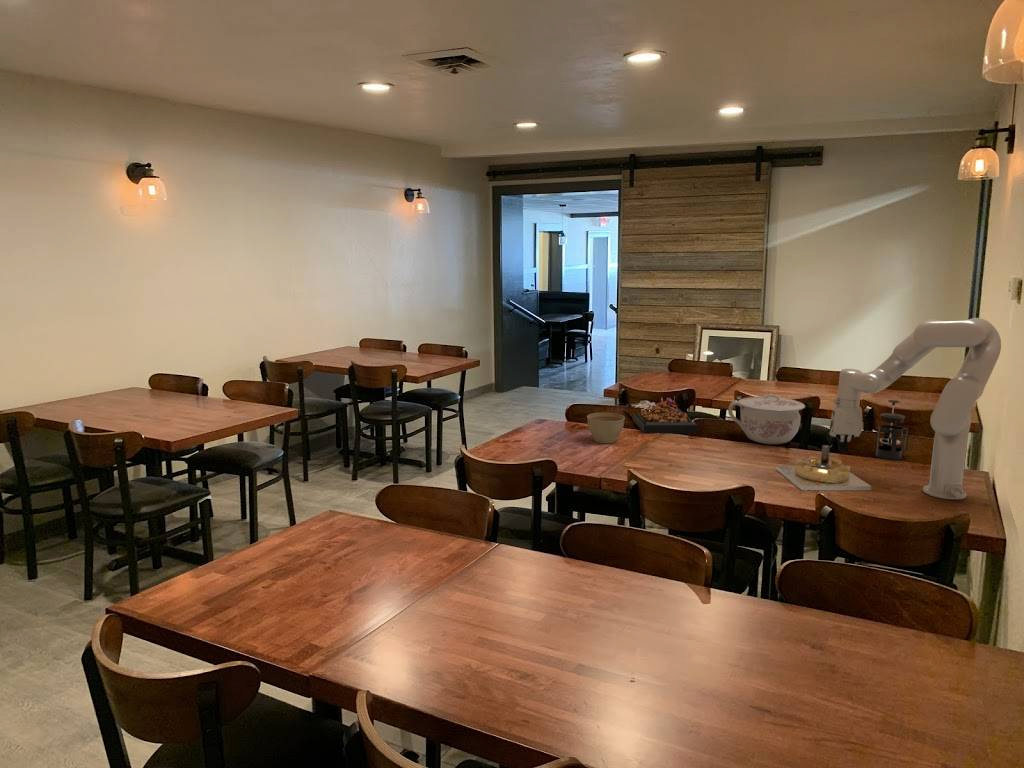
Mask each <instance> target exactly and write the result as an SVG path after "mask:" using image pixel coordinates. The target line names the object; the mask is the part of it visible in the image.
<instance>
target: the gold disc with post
mask: <svg viewBox="0 0 1024 768" xmlns="http://www.w3.org/2000/svg"><path fill="white" fill-rule="evenodd" d="M830 449H831V446H830V445H826V444H823V445H821V455H820V456H821V457H820V459H819V457H817V456H813V455H812V456H808V459H798V458H797V459H795V465H794V466H795V473H796V474H797V475H798V476H800V477H802V478H805V479H808V480H812V481H818V482H827V483H837V482H844V481H847V480H848V479H849V474H850V473H851V472H850V471H851V465H845V464H844V463H843V464H842V460H841V459H837V458H834V459H831V460H830V451H831V450H830Z"/></svg>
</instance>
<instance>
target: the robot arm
mask: <svg viewBox="0 0 1024 768" xmlns="http://www.w3.org/2000/svg"><path fill="white" fill-rule="evenodd" d="M937 348H969V349H968V352H967V354H966V356H965V358H964V360H963V362H962V364H961V366H960V368H959V370H958V372H957V373H956V375H955V376H954V377H953V378H951V379H950V380H949V381H948V382H947V383H946V384H945V386H944V388H943V390H942V392H941V394H940V396H939V399H938V401H937V402H936V404H935V407H934V408H933V411H932V413H931V415H930V426H931V428H932V429H933V431H934V438H933V446H932V453H931V454H932V455H931V462H930V464H931V465H930V473H929V482H928V485H924V486H923V487H922V492H924V493H925V494H926V495H928V496H931V497H933V498H939V499H943V500H953V501H955V500H959V501H960V500H963V499H966V498H967V492H966V491H964V490H963V487H964V485H963V479H964V470H965V462H966V453H967V447H968V440H969V434H970V430H971V423H972V414H971V412H972V410H973V407H974V406H975V403H976V402H977V400H979V399H980V398H981V396H982V395H983V393H984V390H985V388H986V385H987V384H988V382H989V379H990V377H991V375H992V372H993V370H994V369H995V366H996V365H997V362H998V360H999V357H1000V354H1001V352H1002V351H1001V349H1002V339H1001V337H1000V334H999V332H998V330H997V329H996V327H995V326H994V325H993V324H992V323H991V322H990V321H988V320H986V319H984V318H980V317H973V318H969V319H966V320H949V321H946V320H945V321H943V320H941V319H938V318H937V319H936V318H935V319H934V318H932V319H928V320H925V321H922V322H920V323H919V324H918V325H917V326H916V327H915V328H914V331H912V333H910V334H909V335H908V336H907V337H905V338H904V339H903V340H902V341H901V342H900V343H898V344H897V345H896V346H895V347H894V349H893V351H892V353H891V354H890V356H888V357H887V358H886V360H884V361H883V362H882V363H881V364H880V365H878V366H877V367H876V368H875V369H873V370H871V371H869V372H862V370H860V369H855V368H844V369H841V370H840V372H839V379H838V386H837V397H836V399H833V400H832V403H833V404H836V405H834V407H833V410H832V412H831V416H830V421H829V423H830V424H829V433H828V434H829V436H831V437H834V438H836V439H837V441H838V445H837V449H838V451H839V452H840V453H848V449H849V443H850V442H851V440H853V438H856V437H858V438H859V437H860V434H861V433H862V431H863V411H862V407H860V400H861V393H864V394H868V395H874V394H877V393H879V392H881V391H883V390H885V389H887V388H888V387H889V386H891V385H892V384H893V383H894V382H896V381H897V380H899V378H901V377H902V376H903V375H904V374H905V373H906V372H908V371H909V370H910V369H912V368H914V366H915V365H916V364H917V363H919V362H920V361H921V360H923V358H925V357H926V356H927V355H929V354H930V353H931V352H932V351H934V350H935V349H937Z"/></svg>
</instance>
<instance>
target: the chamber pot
mask: <svg viewBox="0 0 1024 768" xmlns="http://www.w3.org/2000/svg"><path fill="white" fill-rule="evenodd" d="M734 406H738V407H740V411H739V412H740V420H739V419H738V418H737V417H736V415H734V413H733V408H734ZM803 409H806V405H805V404H804V403H803V402H801V401H799V400H795V399H790V398H786V397H780V396H778V395H776V394H774V393H773V394H772V393H770V394H765V395H764V396H763V395H762V396H761V395H760V396H748V397H744V398H741V399H739V400H736V399H735V400H733V401H731V402H730V404H729V406H728V410H727V411H728V415H729V417H730V418H731V420H733V421H734V422H735V424H738V426H739V427H740V428H741V429H742V431H743V432H744V434H745V436H746V437H747V438H748V439H749V440H751V441H754V442H755V443H757V444H763V445H772V446H773V445H775V446H777V445H783V444H786V443H789V442H791V441H792V439H793V438H794V437H795V436H796V434H797V433H798V432H799V428H800V426H801V414H800V413H799V411H800V410H803Z"/></svg>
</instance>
